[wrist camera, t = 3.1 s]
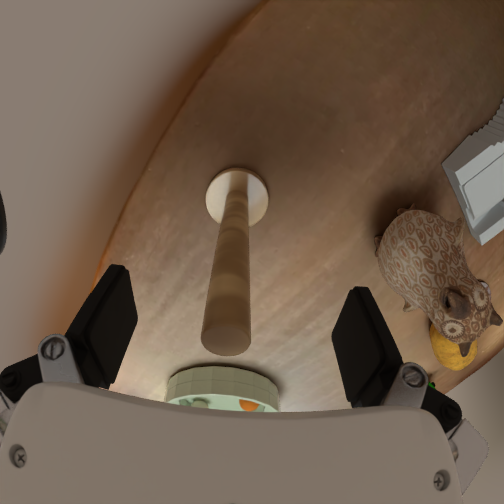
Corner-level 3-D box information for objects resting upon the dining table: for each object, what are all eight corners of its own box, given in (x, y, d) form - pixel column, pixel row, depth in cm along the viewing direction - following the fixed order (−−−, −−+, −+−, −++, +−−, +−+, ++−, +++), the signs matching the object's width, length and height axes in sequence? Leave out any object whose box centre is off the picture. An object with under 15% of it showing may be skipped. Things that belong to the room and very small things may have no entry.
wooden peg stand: (205, 221, 23) (165, 372, 10) (208, 165, 21) (148, 280, 8) (263, 226, 24) (281, 380, 11) (271, 170, 21) (311, 293, 8)
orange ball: (238, 397, 38) (238, 413, 35) (240, 388, 36) (239, 405, 34) (257, 398, 38) (258, 414, 35) (260, 389, 36) (261, 406, 34)
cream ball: (191, 404, 39) (190, 419, 37) (190, 396, 38) (188, 412, 35) (209, 406, 39) (208, 421, 37) (209, 398, 38) (208, 414, 35)
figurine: (393, 164, 21) (521, 252, 8) (449, 215, 23) (541, 303, 10) (339, 244, 25) (407, 379, 12) (401, 278, 27) (465, 386, 14)
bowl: (174, 409, 42) (170, 432, 37) (160, 356, 33) (153, 386, 29) (268, 416, 43) (270, 439, 39) (288, 365, 34) (292, 396, 30)
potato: (435, 353, 36) (451, 384, 30) (412, 319, 31) (434, 358, 25) (467, 328, 33) (485, 357, 27) (452, 285, 28) (479, 321, 22)
